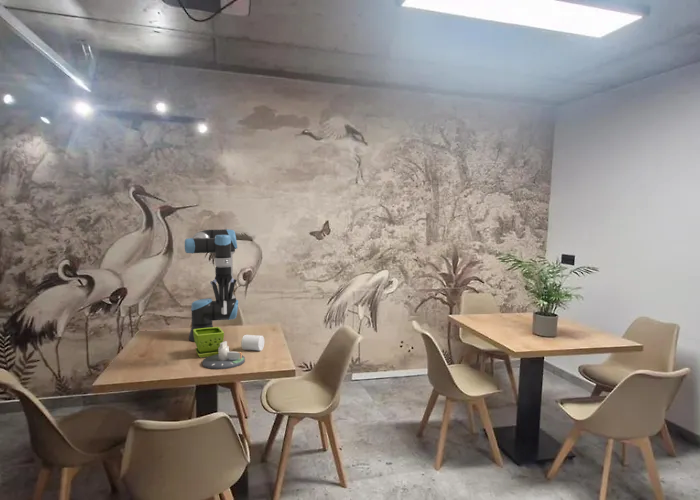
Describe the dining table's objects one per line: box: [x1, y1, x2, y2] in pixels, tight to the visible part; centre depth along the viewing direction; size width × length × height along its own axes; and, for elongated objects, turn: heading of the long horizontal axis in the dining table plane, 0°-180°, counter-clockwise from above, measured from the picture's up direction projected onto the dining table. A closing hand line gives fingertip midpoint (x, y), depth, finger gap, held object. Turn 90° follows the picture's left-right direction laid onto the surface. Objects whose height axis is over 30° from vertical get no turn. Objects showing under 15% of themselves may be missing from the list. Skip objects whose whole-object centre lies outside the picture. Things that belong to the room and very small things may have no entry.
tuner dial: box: [202, 354, 246, 370], centre depth 217 cm, size 20×20×2 cm
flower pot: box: [193, 326, 225, 359], centre depth 231 cm, size 14×14×13 cm
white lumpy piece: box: [218, 340, 242, 361], centre depth 216 cm, size 12×5×8 cm, turn 77°
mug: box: [240, 334, 265, 352], centre depth 241 cm, size 12×10×8 cm
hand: (224, 313), depth 217 cm, fingers closed
